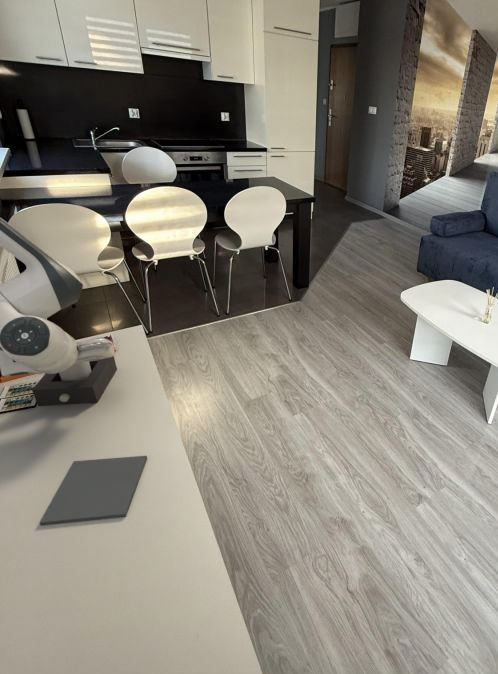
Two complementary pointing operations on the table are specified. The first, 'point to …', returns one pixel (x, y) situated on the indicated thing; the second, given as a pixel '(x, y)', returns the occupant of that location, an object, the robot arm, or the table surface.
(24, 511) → the table surface
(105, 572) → the table surface
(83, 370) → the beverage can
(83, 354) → the robot arm
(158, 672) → the table surface
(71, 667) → the table surface
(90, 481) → the mat
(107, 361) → the blender base
